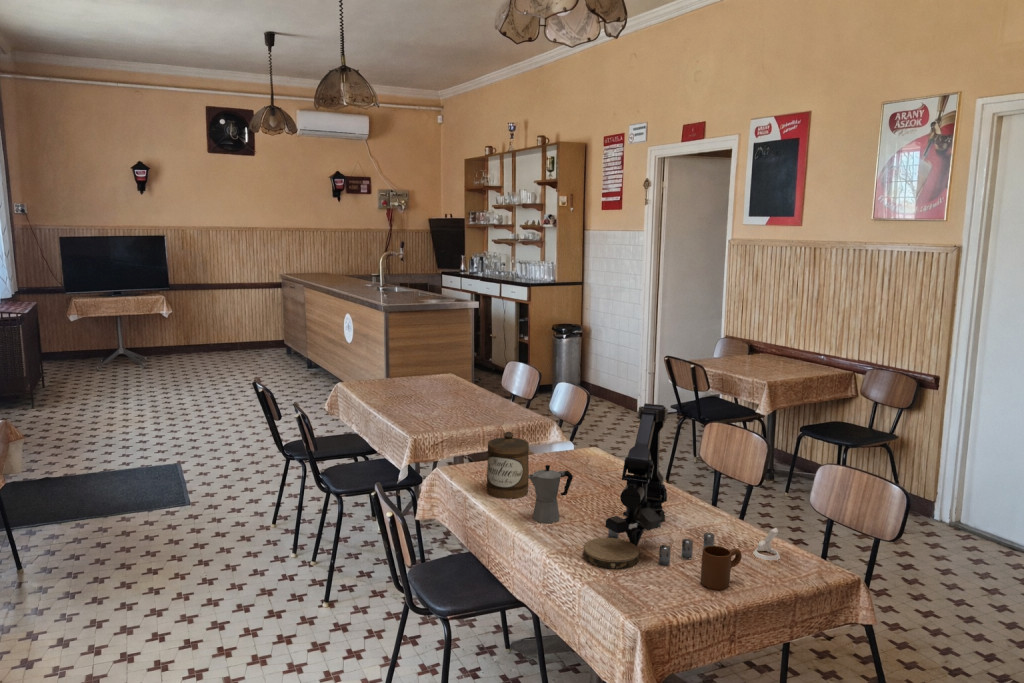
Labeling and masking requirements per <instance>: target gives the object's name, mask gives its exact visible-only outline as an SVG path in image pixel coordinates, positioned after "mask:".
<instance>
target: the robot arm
mask: <svg viewBox="0 0 1024 683" xmlns="http://www.w3.org/2000/svg"><path fill="white" fill-rule="evenodd" d="M668 411H669V410H668V408H666V406H665V405H663V404H656V403H644V404H643V406H641V405H640V406H639V407H638V418H637V419H638V420H640V422H639V425H638V430H637V434H636V439H635V444H634V446H633V447H631V448H630V449H629V450H628V454H627V456H626V457H625V458H624V464H623V468H622V474H621V475H622V476H621V480H622V481H626V485H625V486H624V488H623V490H622V491H621V493H620V496H619V498H620V502H621V503H622V505H623V506H624V507H626V509H625V511H623V514H622V515H623V516H624V517H625V518H622V517H620V516H618V515H615V516H610V517H608V518H607V519H605V528H606V529H608V530H609V529H610V530H612V531H614V532H616V533H618V534H621V533H625V534H626V536H627V537H628V540H629V542H630V543H632V544H634V545H635V546H636V547H638V545H639V542H640V541H641V538H642V535H643V534H644V531H646V530H647V531H651V530H654V529H659V528H658V527H659V524H660V523H661V524H662V523H665V520H666V514H665V510H664V509H663V505H662V504H664V503H665V502H666V503H667V502H668V491H667V488H666V484H664V476H663V475H662V473H661V472H660V470H659V469H660V443H661V441H660V440H661V439H660V436H661V430H662V429H663V428H664V426H665V423H666V421H667V419H668Z"/></svg>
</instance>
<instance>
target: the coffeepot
mask: <svg viewBox="0 0 1024 683" xmlns="http://www.w3.org/2000/svg"><path fill="white" fill-rule="evenodd" d="M544 467H545V469H540V470H536V471H534V472H533V473H532V474H531V473H530V474H529V476H528V478H529V480H530V481H531V482H532V485H533V487H534V491H535V495H536V496H535V502H534V508H533V514H532V520H533V521H534V520H535V522H536V521H537V522H536V523H539V522H540V524H554V523H553V522H555V523H557V522H559V521H560V511H559V505H558V504H559V503H558V499H557V498H558V497H557V496H558V494H559V488H560V483H561V478H565V477H567V479H566V481H565V482H566V483H565V485H564V489H563V492H560V494H559V495H560V496H562V497H563V496H567V495H568V492H569V490H570V486H571V483H572V480H573V474H572V473H571V472H570V471H569V470H559V471H556V470H554V469H553V470H551V469H550V467H551V465H549V464H546V465H545V466H544ZM556 521H557V522H556Z"/></svg>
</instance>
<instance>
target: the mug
mask: <svg viewBox="0 0 1024 683" xmlns="http://www.w3.org/2000/svg"><path fill="white" fill-rule="evenodd" d="M733 556H734V558H733V559H732V557H733ZM742 557H743V556H742V551H741V550H740V549H738V548H731V549H728V548H727V547H723V546H720V545H714V546H706V547H704V548H703V547H702V553H701V562H700V564H701V566H700V583H701V584H702V586H704V587H705V586H706V588H707V587H708V588H707V589H710V590H715V591H722V590H723V591H724V590H725V589H728V588H729V586H730V583H731V571H732V568H734V567H737V566H738V565H739V564H740V562H741V560H742Z"/></svg>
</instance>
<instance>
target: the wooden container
mask: <svg viewBox="0 0 1024 683" xmlns="http://www.w3.org/2000/svg"><path fill="white" fill-rule="evenodd" d="M529 446H530V445H529V442H528V441H527V440H525V439H523V438H517V437H514V433H512V432H511V431H506V432H504V434H503V437H498V438H497V437H496V438H493V439H490V440H489V441H488V442H487V466H486V468H487V472H486V492H488V493H489V494H488V493H487V494H488V495H489V496H491V495H492V497H494V496H495V497H494V498H498V497H499V498H498V499H505V498H512V499H519V498H522V497H525V496H527V495H528V493H529V480H530V479H529V478H528V476H529V475H530V474H529V472H530V471H529V468H530V467H529V466H530V465H529V459H530V458H529V457H530V454H529V451H530V450H529Z"/></svg>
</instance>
